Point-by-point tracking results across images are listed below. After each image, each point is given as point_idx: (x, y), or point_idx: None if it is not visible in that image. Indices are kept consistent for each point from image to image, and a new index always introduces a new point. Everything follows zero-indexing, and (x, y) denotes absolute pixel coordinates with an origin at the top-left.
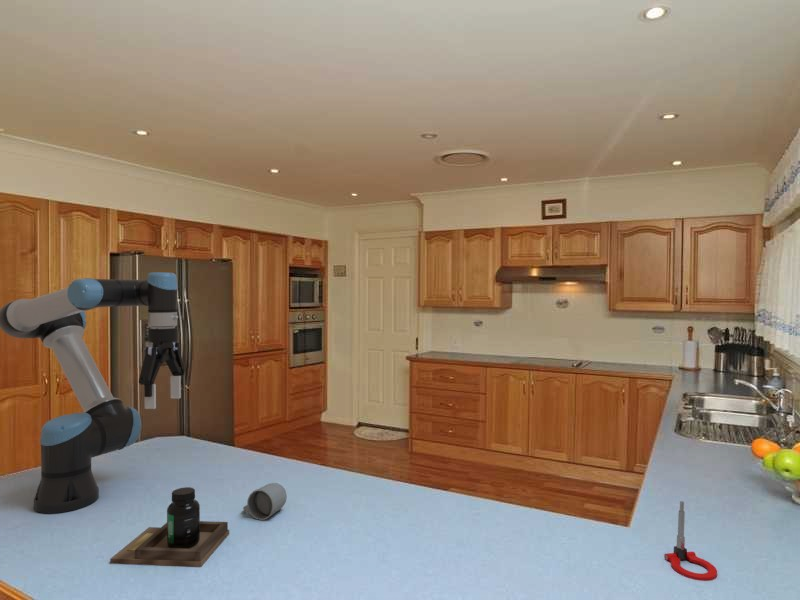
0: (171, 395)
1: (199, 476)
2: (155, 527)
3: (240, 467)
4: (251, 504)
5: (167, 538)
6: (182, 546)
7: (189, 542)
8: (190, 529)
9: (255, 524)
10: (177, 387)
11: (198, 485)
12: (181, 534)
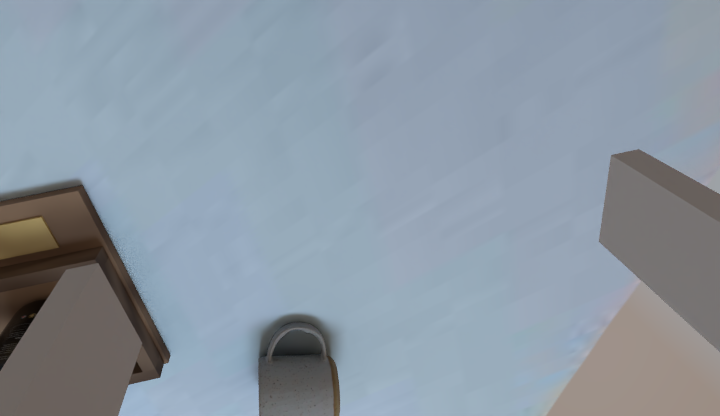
0: (631, 179)
1: (525, 37)
2: (86, 209)
3: (616, 128)
4: (273, 365)
5: (6, 325)
6: None
7: None
8: None
9: (236, 371)
10: (690, 302)
11: (439, 93)
12: None
